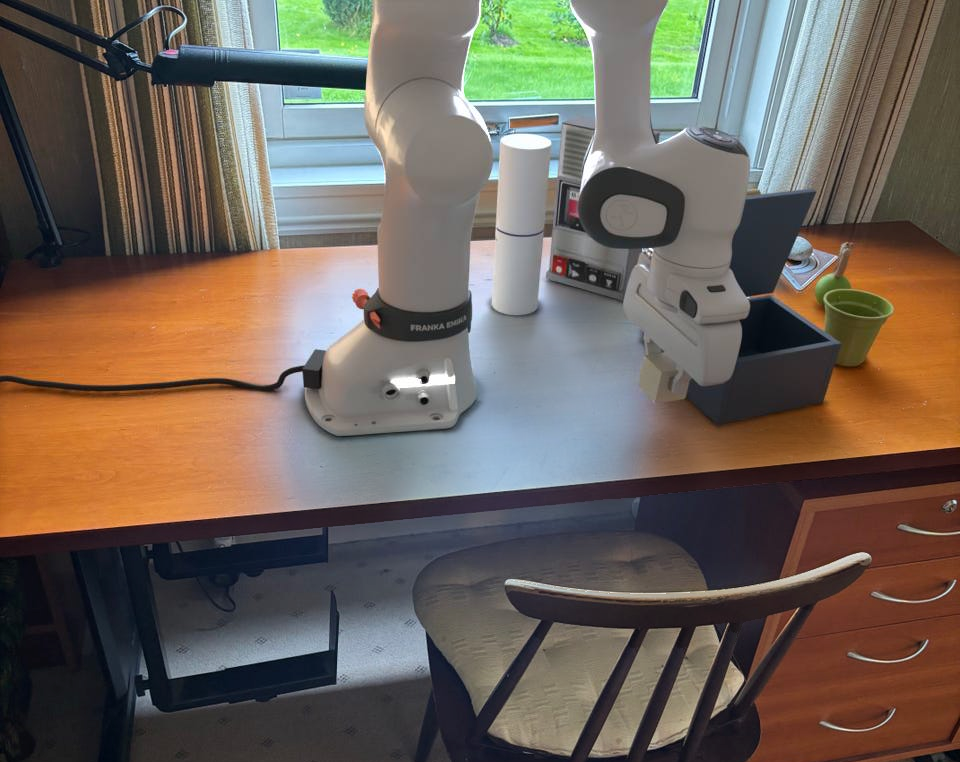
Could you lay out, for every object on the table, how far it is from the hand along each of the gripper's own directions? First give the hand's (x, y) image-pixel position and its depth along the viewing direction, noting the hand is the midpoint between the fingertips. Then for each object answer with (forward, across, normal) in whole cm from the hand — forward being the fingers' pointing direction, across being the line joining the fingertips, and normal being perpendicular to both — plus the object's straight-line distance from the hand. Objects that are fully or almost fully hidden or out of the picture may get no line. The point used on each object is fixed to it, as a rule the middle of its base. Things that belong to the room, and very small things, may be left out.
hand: (664, 380), depth 114 cm
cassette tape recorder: (+6, -39, +10) cm, 41 cm away
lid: (-11, -10, +15) cm, 21 cm away
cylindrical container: (+6, -36, -5) cm, 37 cm away
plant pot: (+5, -7, +35) cm, 36 cm away
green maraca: (+5, -21, +44) cm, 49 cm away
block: (+2, 0, 0) cm, 2 cm away
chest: (+6, -4, +16) cm, 17 cm away
